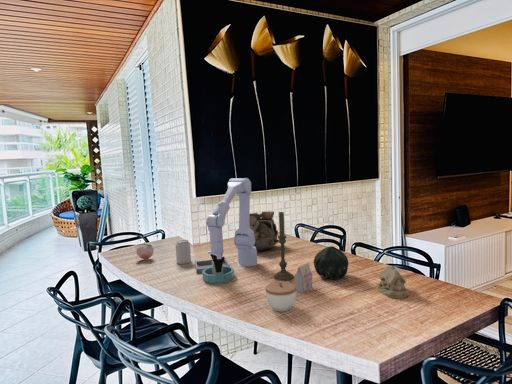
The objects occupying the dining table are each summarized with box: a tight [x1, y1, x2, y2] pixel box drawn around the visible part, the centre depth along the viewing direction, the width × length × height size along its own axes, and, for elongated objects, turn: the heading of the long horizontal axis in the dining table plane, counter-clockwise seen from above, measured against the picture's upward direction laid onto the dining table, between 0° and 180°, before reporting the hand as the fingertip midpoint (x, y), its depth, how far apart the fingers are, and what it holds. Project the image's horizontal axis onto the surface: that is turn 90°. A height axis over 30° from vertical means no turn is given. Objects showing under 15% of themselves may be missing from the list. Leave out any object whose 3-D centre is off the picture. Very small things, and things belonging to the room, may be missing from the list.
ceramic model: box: [376, 265, 409, 299], centre depth 138 cm, size 14×11×10 cm
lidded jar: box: [265, 281, 297, 312], centre depth 127 cm, size 11×11×9 cm
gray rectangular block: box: [212, 261, 223, 275], centre depth 161 cm, size 4×4×6 cm
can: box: [175, 239, 192, 265], centre depth 188 cm, size 8×8×12 cm
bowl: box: [201, 266, 235, 285], centre depth 162 cm, size 14×14×4 cm
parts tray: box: [194, 257, 231, 274], centre depth 177 cm, size 16×14×2 cm
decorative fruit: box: [135, 241, 154, 260], centre depth 198 cm, size 9×8×10 cm
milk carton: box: [294, 262, 313, 294], centre depth 143 cm, size 4×7×10 cm, turn 138°
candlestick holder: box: [273, 210, 295, 281], centre depth 158 cm, size 9×9×30 cm
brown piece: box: [246, 210, 279, 251], centre depth 211 cm, size 25×24×22 cm
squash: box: [313, 245, 349, 281], centre depth 157 cm, size 14×15×15 cm
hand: (218, 270), depth 161 cm, fingers closed on gray rectangular block, 4 cm apart
